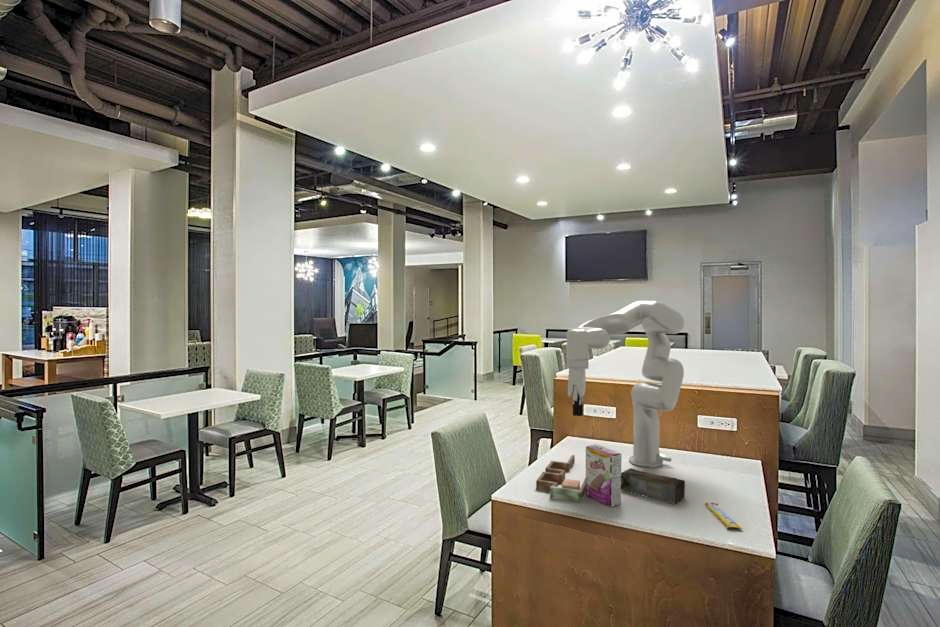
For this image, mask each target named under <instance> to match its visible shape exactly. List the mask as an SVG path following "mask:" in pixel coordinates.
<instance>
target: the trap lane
mask: <svg viewBox="0 0 940 627" xmlns="http://www.w3.org/2000/svg"><path fill="white" fill-rule="evenodd" d="M575 456H576V455H575V454H572V455H571V456H570V458H569V459H568V461H567V462H565V461H564V462H563V461H556V460H551V461H550V462H549V463H548V464H547V466H546V467H545V471H542V472H541V474H540V475H539V476H538V478H537V479H536V481H535V482H536V484H535V486H536V487H535V489H536V490H537V491H538V490H539V491H545V492H549V498H550V499H553V498H554V499H553V500H559V499H560V501H566V500H568V501H567V502H572V501H574V503H579V502H581V503H583V500H584V498H583V497H585V496H586V477H585V478H584V481H583V482H582V484H581V486H580V490H575V489H568V488H562V486H561V487H559V484H561V483H562V484H563V482H564V479H566V473H567V471H569V472H570V471H571V470H572V468H573V466H574V465H575V463H574V462H575V461H576V460H575V459H576V458H575ZM573 464H574V465H573ZM570 469H571V470H570ZM584 495H585V496H584Z"/></svg>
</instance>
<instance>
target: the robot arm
mask: <svg viewBox="0 0 940 627" xmlns="http://www.w3.org/2000/svg"><path fill="white" fill-rule="evenodd" d="M640 325H641V326H642V328H643V330H644V332H645V335H646V338H647V341H648V343H647V348H646V353H645V356H644V360H643V363H642V364H643V365H642V369H641V374H642V376H643V377H644V378H645V379H647V380H651V381H653V382H654V381H655V382H661V384H657V383H652V382H648V381H647V382H644V381H643V382H642V381H641V382H638V383H636V384H634V385H633V386H632V389H631V393H630V397H631V403H632V408H633V445H632V446H633V449H632V450H633V451H632V452H633V455H631V456H630V457H629V458H628V459H629V460H628V461H629V463H631V464H633V465H635V466H637V467H642V468H659V467H663V465H664V461H665V462H672V456H669V455H668V454H662V453H661V450H660V417H659V416H660V415H659V413H658V411H663V412H670V411H672V410H673V409H674V408H675V407H676V405H677V402H678V399H679V396H680V393H681V389H682V388H681V387H682V384H683V380H684V372H685V370H684V366H683V364H682V362H681V361H680V360H678V359H676V358H670V353H671V342H670V340H669V337H668V336H667V335H668V334H670V335H677V334H679V333H680V332H681V331H683V329H684V327H685V320H684V318H683V316H682V315H681V313H680V312H678V311H677V310H675V309H673V308H671V307H670V306H668V305H667V304H665V303H662V302H660V301H658V300H636V301H633V302H631V303H630V304H628V305H625V306H624V307H623V308H620V309H619V310H617V311H615V312H613V313H609V314H606V315H604V316H600V317H596V318H592V319H591V320H588V321H587V322H585V323H583V324H581V325H578V326H577V327H576V328H571V329H568V330H567V331H566V369H568V378H567V396H568V398H570V397H572V416H575V417H582V416H583V414H584V413H583V412H584V410H583V409H584V408H583V407H584V406H583V405H584V404H583V396H584V395H585V393H586V385H587V384H586V383H587V382H586V380H587V379H586V373H587V372H586V370H588V369H589V349H594V350H602V349H605V348H606V347H607V346H608V345H609V344H610V341H611V336H619V335H623V334H626V333H627V332H630V331H631V330H632V329H634V328H636V327H638V326H640ZM666 334H667V335H666Z"/></svg>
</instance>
